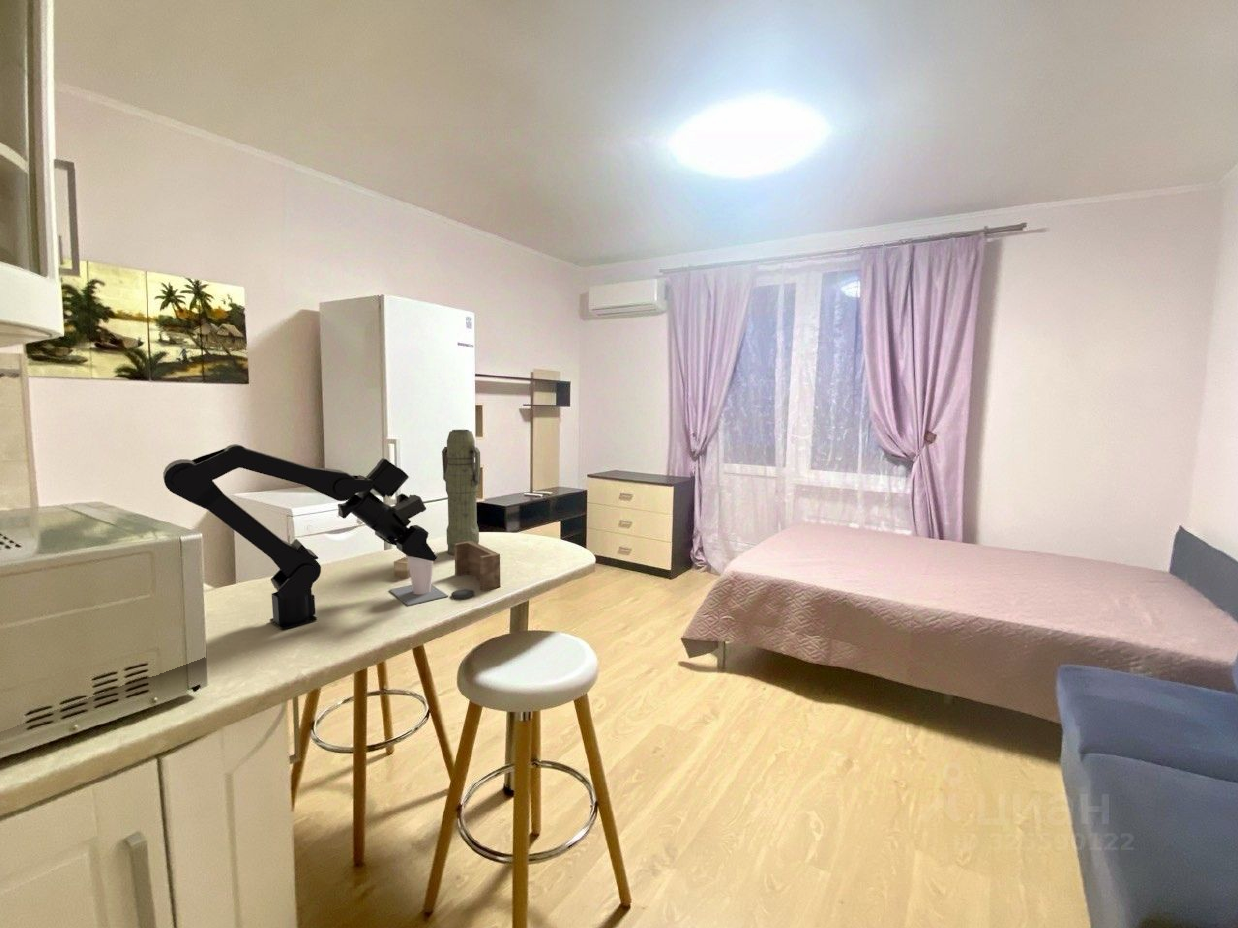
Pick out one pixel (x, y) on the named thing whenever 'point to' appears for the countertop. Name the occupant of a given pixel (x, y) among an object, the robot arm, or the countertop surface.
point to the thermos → (461, 487)
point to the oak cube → (402, 568)
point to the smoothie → (420, 574)
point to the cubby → (478, 563)
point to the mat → (412, 599)
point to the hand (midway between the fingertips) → (427, 554)
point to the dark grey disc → (462, 594)
